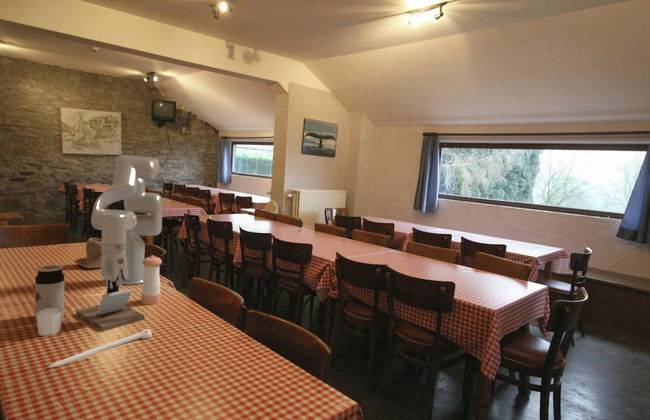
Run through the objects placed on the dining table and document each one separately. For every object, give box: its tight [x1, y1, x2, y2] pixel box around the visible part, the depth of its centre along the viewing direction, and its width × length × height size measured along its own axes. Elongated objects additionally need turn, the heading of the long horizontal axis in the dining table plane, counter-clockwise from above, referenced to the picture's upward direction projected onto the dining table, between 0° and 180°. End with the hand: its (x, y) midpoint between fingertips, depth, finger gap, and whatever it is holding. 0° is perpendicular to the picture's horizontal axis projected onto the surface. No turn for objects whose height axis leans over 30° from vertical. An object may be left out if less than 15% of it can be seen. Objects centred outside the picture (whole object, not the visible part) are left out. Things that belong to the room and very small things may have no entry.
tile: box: [96, 288, 132, 316], centre depth 128 cm, size 10×9×1 cm
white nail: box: [48, 328, 153, 369], centre depth 107 cm, size 28×4×3 cm, turn 147°
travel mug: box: [34, 264, 65, 321], centre depth 125 cm, size 8×8×18 cm
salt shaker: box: [140, 255, 163, 305], centre depth 146 cm, size 7×7×19 cm
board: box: [75, 304, 145, 332], centre depth 130 cm, size 20×14×2 cm
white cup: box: [36, 307, 63, 337], centre depth 115 cm, size 7×7×7 cm
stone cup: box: [74, 237, 102, 269], centre depth 189 cm, size 15×12×15 cm
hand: (112, 298), depth 128 cm, fingers closed
